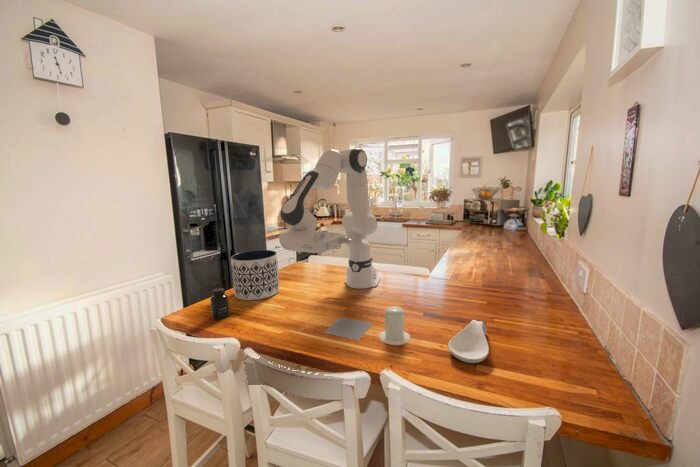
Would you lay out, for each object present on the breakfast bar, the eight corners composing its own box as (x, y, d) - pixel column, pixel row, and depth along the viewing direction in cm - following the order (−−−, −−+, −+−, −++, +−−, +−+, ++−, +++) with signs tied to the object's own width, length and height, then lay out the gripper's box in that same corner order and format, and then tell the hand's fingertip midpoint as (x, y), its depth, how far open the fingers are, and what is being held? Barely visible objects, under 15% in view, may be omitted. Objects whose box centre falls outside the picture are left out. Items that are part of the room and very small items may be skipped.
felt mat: (340, 318, 125) (340, 317, 125) (372, 324, 119) (372, 322, 119) (323, 334, 112) (323, 332, 112) (358, 341, 106) (358, 340, 106)
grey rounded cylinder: (389, 331, 112) (388, 305, 110) (405, 334, 109) (405, 307, 107) (383, 339, 106) (383, 312, 105) (400, 342, 104) (400, 314, 102)
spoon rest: (484, 374, 87) (485, 350, 86) (443, 362, 93) (443, 340, 92) (496, 337, 107) (497, 318, 105) (461, 329, 113) (462, 311, 112)
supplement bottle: (223, 320, 126) (220, 293, 124) (208, 319, 128) (205, 292, 126) (232, 313, 133) (230, 287, 131) (218, 312, 134) (215, 286, 132)
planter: (262, 303, 143) (258, 261, 140) (224, 298, 151) (220, 258, 148) (287, 287, 164) (285, 250, 161) (253, 284, 172) (250, 248, 168)
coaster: (385, 328, 115) (385, 327, 115) (413, 333, 110) (413, 332, 110) (374, 342, 105) (374, 341, 105) (405, 349, 101) (405, 347, 100)
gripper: (299, 239, 113) (332, 240, 107) (326, 230, 131) (356, 231, 125) (300, 255, 114) (333, 258, 108) (327, 244, 132) (356, 246, 126)
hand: (345, 243), depth 117 cm, fingers open, 8 cm apart
